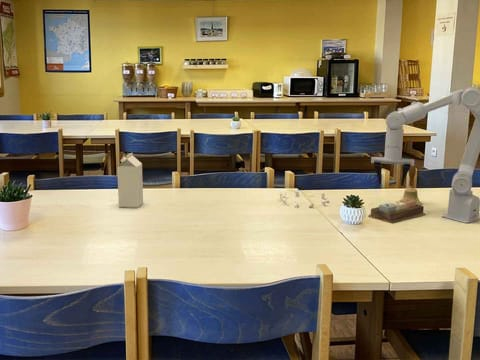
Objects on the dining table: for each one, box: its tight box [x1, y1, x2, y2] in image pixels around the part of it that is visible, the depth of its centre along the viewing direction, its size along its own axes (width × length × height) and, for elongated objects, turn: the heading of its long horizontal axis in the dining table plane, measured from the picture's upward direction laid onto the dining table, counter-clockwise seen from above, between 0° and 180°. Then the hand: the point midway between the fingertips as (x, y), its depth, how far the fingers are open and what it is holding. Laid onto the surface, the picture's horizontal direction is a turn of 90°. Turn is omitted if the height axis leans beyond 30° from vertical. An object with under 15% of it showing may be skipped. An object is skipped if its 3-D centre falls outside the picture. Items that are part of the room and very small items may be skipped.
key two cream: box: [389, 200, 406, 211], centre depth 189 cm, size 4×4×3 cm
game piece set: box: [277, 188, 330, 209], centre depth 208 cm, size 19×20×4 cm
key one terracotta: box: [399, 199, 416, 208], centre depth 192 cm, size 4×4×3 cm
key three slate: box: [378, 203, 396, 213], centre depth 186 cm, size 4×4×3 cm
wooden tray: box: [368, 204, 426, 224], centre depth 189 cm, size 10×18×3 cm, turn 127°
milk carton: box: [116, 152, 144, 209], centre depth 198 cm, size 7×7×19 cm
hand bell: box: [398, 162, 422, 206], centre depth 205 cm, size 8×8×16 cm
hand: (391, 184), depth 194 cm, fingers open, 7 cm apart
